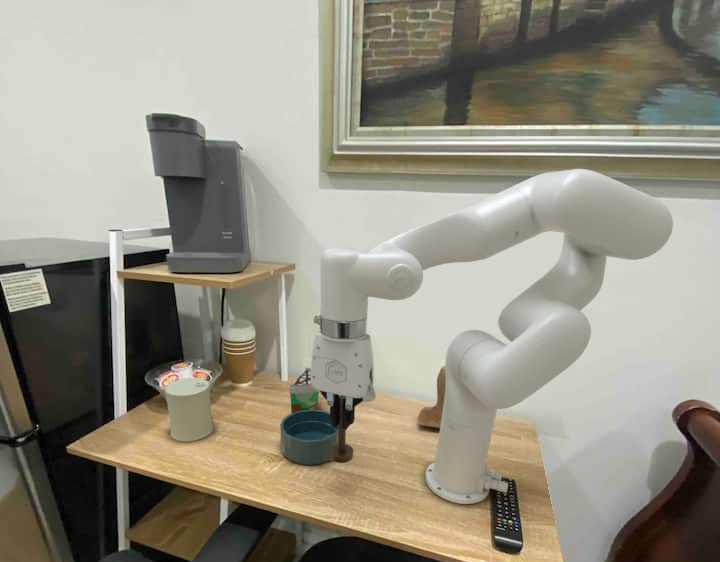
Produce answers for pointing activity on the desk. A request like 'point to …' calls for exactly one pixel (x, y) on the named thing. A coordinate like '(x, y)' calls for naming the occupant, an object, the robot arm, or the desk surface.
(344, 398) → the brown peg stand
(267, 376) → the desk surface
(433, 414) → the brown wooden bookend
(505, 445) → the desk surface
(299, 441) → the bowl
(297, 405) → the food container
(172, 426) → the can
